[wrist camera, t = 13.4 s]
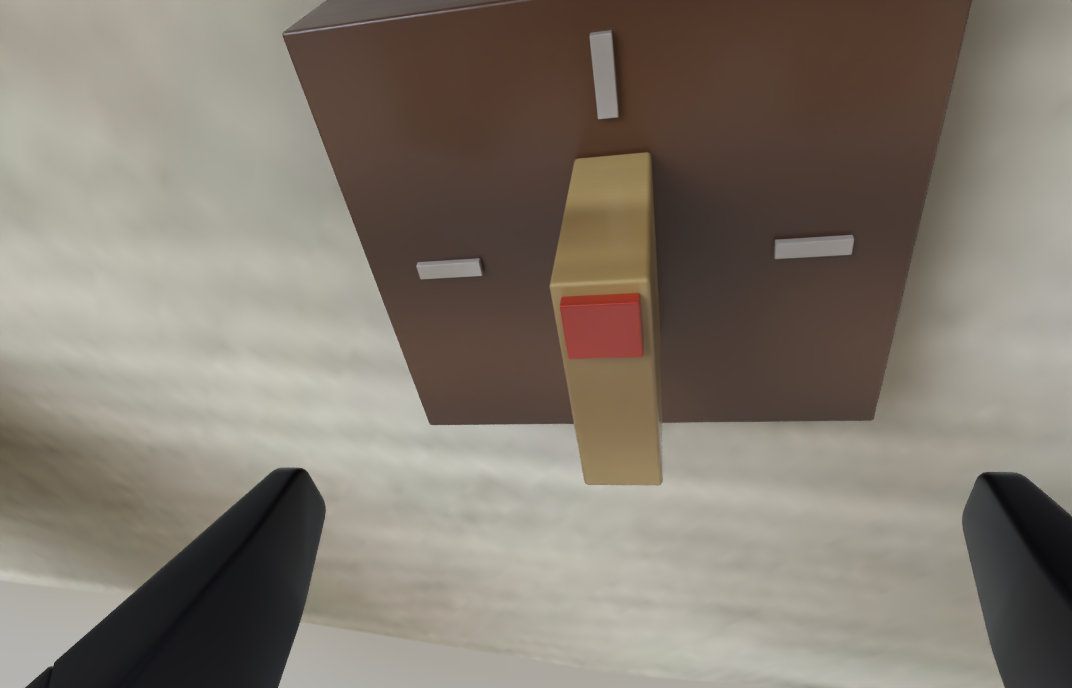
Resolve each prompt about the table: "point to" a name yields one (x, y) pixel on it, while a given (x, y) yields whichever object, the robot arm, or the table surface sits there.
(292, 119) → the table surface
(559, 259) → the tap knob
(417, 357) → the panel
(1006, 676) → the robot arm
